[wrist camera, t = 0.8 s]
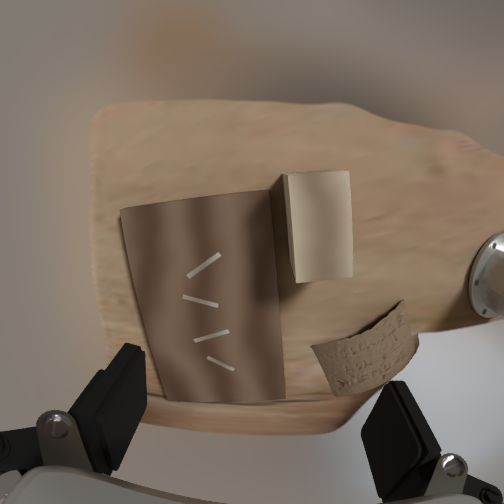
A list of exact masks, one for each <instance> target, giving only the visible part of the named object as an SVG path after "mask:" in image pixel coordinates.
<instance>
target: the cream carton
mask: <svg viewBox="0 0 504 504" xmlns="http://www.w3.org/2000/svg"><path fill="white" fill-rule="evenodd" d="M282 179H283V190H284V201H285V212H286V224H287V236H288V248H289V259H290V263H291V266H292V270H293V274H294V277H295V281H296V283H303V282H313V281H323V280H333V279H342V278H351V277H353V236H352V210H351V192H350V177H349V171H313V172H299V173H286V174H282Z"/></svg>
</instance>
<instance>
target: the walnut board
mask: <svg viewBox="0 0 504 504" xmlns="http://www.w3.org/2000/svg"><path fill="white" fill-rule="evenodd" d="M120 216H121V222H122V228H123V233H124V239H125V244H126V249H127V255H128V259H129V264H130V269H131V274H132V278H133V283H134V287H135V291H136V295H137V299H138V303H139V307H140V311H141V315H142V319H143V323H144V326H145V330H146V334H147V337H148V341H149V344H150V347H151V351H152V354H153V357H154V361H155V364H156V367H157V370H158V373H159V376H160V379H161V382H162V385H163V388H164V391H165V394H166V397H167V399H168V401H183V402H236V401H259V400H275V399H286V394H285V378H284V363H283V348H282V334H281V321H280V308H279V295H278V283H277V271H276V259H275V248H274V237H273V226H272V215H271V205H270V194H269V190H259V191H249V192H240V193H231V194H222V195H213V196H205V197H197V198H190V199H182V200H175V201H168V202H161V203H154V204H147V205H141V206H135V207H128V208H124V209H121V210H120Z"/></svg>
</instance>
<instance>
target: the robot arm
mask: <svg viewBox="0 0 504 504" xmlns="http://www.w3.org/2000/svg"><path fill="white" fill-rule="evenodd" d="M468 292H469V300H470V303H471V305H472V307H473V309H474V310H475V311H476V312H477V313H478V314H479V315H481V316H482V317H486V318H493V317H496V316H498V315H499V316H500V317H501V318H503V319H504V232H500V233H497V234H495V235H494V236H492V237H491V238H490V239H489V240H488V241H487V242H486V243H485V244H484V245H483V247H482V248H481V250H480V251H479V253H478V255H477V257H476V259H475V261H474V264H473V266H472V270H471V273H470V278H469V288H468ZM146 406H147V387H146V363H145V351H142V350H141V347H140V346H137V345H133V344H130V343H125V344H124V345H123V347H122V348H121V349H120V351H119V352H118V353H117V355H116V356H115V357H114V359H113V360H112V361H111V363H110V364H109V365H108V367H107V368H106V370H102V369H101V370H99V371H98V372H97V373H96V374H95V376H94V377H93V378H92V380H91V381H90V382H89V384H88V385H87V386H86V388H85V389H84V390H83V392H82V393H81V394H80V396H79V397H78V399H77V400H76V401H75V403H74V404H73V406H72V407H71V408H70V410H69V411H68V412H67V413H66V412H64V411H60V410H51V411H47V412H45V413H43V414H42V415H41V416H40V417H39V418H38V420H37V422H36V427H30V428H23V429H17V430H10V431H2V432H0V500H1V499H3V498H5V497H6V498H5V499H4V501H3V502H2V504H226V503H218V502H212V501H205V500H200V499H194V498H190V497H185V496H180V495H175V494H171V493H167V492H163V491H159V490H155V489H151V488H148V487H144V486H140V485H137V484H133V483H130V482H127V481H123V480H120V479H117V478H113V477H110V475H111V473H112V471H113V470H115V471H117V470H118V468H119V467H120V464H121V462H122V460H123V457H124V455H125V453H126V451H127V448H128V446H129V444H130V442H131V440H132V438H133V435H134V433H135V431H136V429H137V427H138V424H139V422H140V420H141V418H142V416H143V414H144V412H145V409H146ZM361 438H362V441H363V444H364V448H365V451H366V455H367V458H368V462H369V465H370V469H371V472H372V476H373V479H374V483H375V486H376V490H377V494H378V496H379V498H382V502H383V503H380V504H504V503H502V500H503V497H502V494H501V492H500V490H499V489H498V488H497V487H495V486H493V485H491V484H489V483H486V482H484V481H482V480H479V479H477V478H475V477H473V476H470V475H468V474H467V473H468V466H467V463H466V461H465V460H464V459H463V458H462V457H461V456H459V455H457V454H453V453H447V454H444V455H443V456H441V454H440V452H441V448H440V446H439V444H438V442H437V440H436V438H435V436H434V434H433V432H432V430H431V429H430V427H429V425H428V423H427V421H426V419H425V417H424V416H423V414H422V412H421V410H420V408H419V406H418V404H417V403H416V401H415V399H414V397H413V395H412V394H411V392H410V390H409V388H408V386H407V385H406V383H405V382H404V381H390V382H389V383H388V384H386V385H385V386H384V387H383V389H382V392H381V394H380V396H379V397H378V399H377V402H376V403H375V405H374V407H373V409H372V411H371V413H370V415H369V416H368V418H367V420H366V422H365V424H364V425H363V427H362V430H361ZM102 473H103V474H102ZM104 474H106V475H104ZM107 475H108V476H107ZM7 493H8V495H7V496H6V495H5V494H7Z"/></svg>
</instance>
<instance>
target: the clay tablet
mask: <svg viewBox="0 0 504 504" xmlns="http://www.w3.org/2000/svg"><path fill="white" fill-rule="evenodd" d="M404 307H405V305H404V300H402V301H401V302H400V303H399V305H398V306H397V307H396V309H395V310H393V311H392V312H390V313H389V315H388V316H387V317H385V318H383V319H382V320H381V321H379V322H378V323H377V324H376V325H375V326H374V327H373V328H372V329H371V330H367V331H365V332H364V333H362V334H358V335H355V336H353V337H351V338H345V339H343V340H337V341H333V342H330V343H326V344H319V345H316V346H314V345H312V346H311V348H312V349H313V351H314V353H315V355H316V357H317V359H318V361H319V363H320V365H321V367H322V369H323V371H324V373H325V376H326V378H327V380H328V382H329V385H330V387H331V389H332V392H333V395H337V396H349V395H354V394H359V393H362V392H364V391H368V390H371V389H373V388H376V387H378V386H380V385H381V384H383V383H385V382H387V381H388V380H390V379H391V378H393V377H394V376H395V375H397V373H399V372H400V371H402V370H403V369H404V368H405V366H406V365H407V364H408V363H409V361H410V360H411V359H412V357H413V356H414V354H416V352H417V349H418V347H419V338H418V334H414V335H411V331H410V327H409V323H408V319H407V314H406V313H405V310H404Z"/></svg>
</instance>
